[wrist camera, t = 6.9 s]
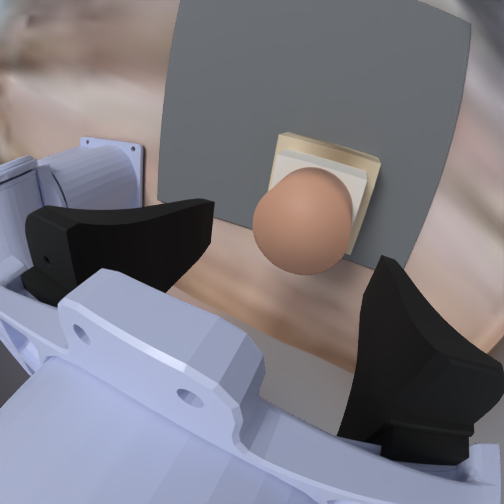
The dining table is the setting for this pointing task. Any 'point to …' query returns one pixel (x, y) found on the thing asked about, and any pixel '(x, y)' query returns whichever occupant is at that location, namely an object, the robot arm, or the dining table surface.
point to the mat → (313, 103)
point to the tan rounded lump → (304, 221)
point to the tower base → (337, 155)
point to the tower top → (347, 174)
